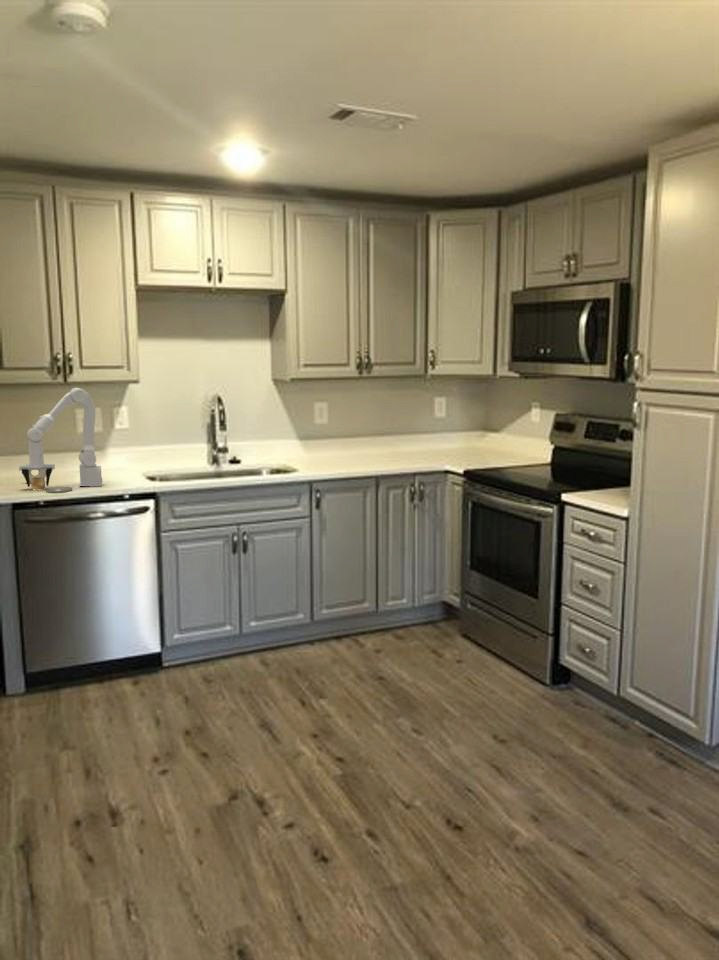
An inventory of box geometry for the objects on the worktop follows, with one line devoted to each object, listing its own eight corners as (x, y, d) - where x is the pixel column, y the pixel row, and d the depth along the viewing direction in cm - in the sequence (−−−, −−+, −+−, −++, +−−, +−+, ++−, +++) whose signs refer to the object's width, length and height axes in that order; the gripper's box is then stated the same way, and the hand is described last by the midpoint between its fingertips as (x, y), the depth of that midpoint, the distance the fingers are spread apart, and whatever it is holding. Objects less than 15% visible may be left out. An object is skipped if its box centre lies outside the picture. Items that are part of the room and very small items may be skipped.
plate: (73, 488, 353) (72, 486, 352) (71, 492, 342) (71, 490, 342) (46, 489, 350) (46, 487, 349) (44, 493, 339) (43, 491, 339)
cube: (45, 488, 353) (44, 477, 352) (43, 490, 348) (43, 478, 348) (32, 488, 352) (32, 477, 351) (31, 490, 347) (30, 479, 346)
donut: (47, 481, 369) (46, 460, 368) (46, 483, 366) (45, 461, 365) (24, 482, 366) (22, 461, 365) (23, 484, 363) (22, 462, 362)
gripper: (17, 457, 342) (19, 488, 344) (53, 456, 346) (54, 486, 348) (19, 455, 349) (21, 485, 351) (54, 454, 353) (56, 484, 355)
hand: (38, 486), depth 350 cm, fingers open, 7 cm apart
